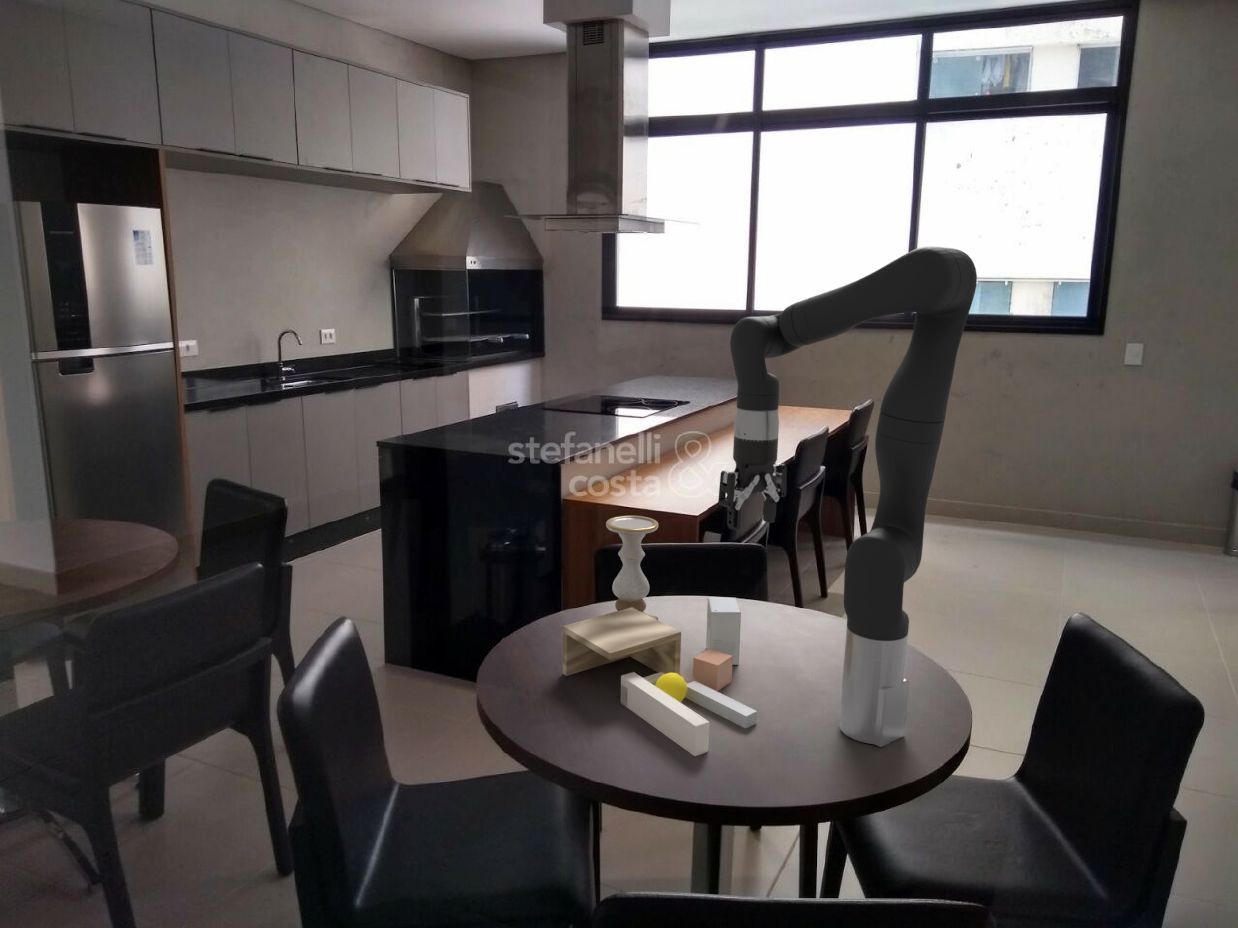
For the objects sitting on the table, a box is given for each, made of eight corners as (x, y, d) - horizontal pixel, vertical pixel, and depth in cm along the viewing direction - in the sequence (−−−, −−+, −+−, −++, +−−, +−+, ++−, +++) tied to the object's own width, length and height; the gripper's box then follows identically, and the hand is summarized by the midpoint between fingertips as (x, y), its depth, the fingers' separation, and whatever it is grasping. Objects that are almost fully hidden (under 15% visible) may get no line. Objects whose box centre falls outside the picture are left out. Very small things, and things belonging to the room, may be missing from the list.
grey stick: (756, 725, 143) (756, 711, 142) (745, 730, 141) (746, 716, 141) (694, 693, 153) (694, 680, 153) (683, 698, 152) (684, 684, 151)
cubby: (679, 679, 158) (681, 631, 156) (609, 704, 148) (610, 653, 146) (631, 652, 169) (632, 607, 167) (562, 673, 159) (562, 625, 157)
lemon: (675, 718, 145) (673, 690, 143) (647, 709, 148) (645, 681, 146) (695, 696, 151) (694, 669, 149) (667, 688, 153) (666, 661, 152)
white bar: (737, 740, 138) (739, 711, 136) (694, 756, 133) (695, 726, 132) (661, 690, 154) (662, 663, 153) (620, 702, 149) (621, 675, 148)
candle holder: (595, 644, 172) (596, 526, 167) (611, 623, 182) (613, 512, 177) (649, 652, 169) (652, 532, 164) (663, 630, 179) (666, 517, 174)
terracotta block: (731, 681, 157) (732, 655, 156) (717, 691, 153) (718, 665, 152) (707, 674, 160) (708, 648, 159) (692, 683, 156) (693, 657, 155)
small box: (739, 665, 164) (741, 612, 161) (708, 665, 164) (711, 611, 162) (734, 647, 172) (736, 596, 169) (705, 647, 172) (707, 596, 169)
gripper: (741, 442, 144) (737, 537, 147) (800, 433, 152) (795, 524, 156) (710, 435, 150) (706, 527, 153) (769, 427, 158) (764, 514, 161)
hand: (751, 525), depth 154 cm, fingers open, 8 cm apart
